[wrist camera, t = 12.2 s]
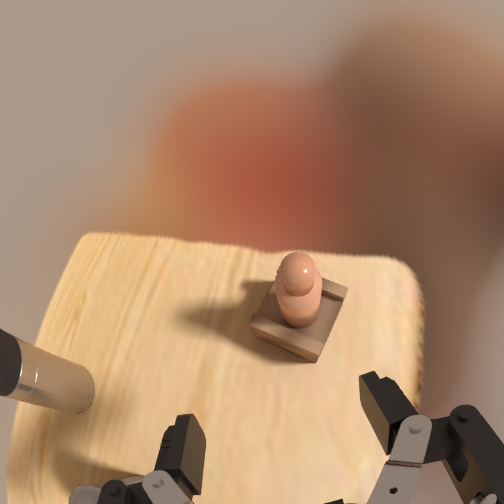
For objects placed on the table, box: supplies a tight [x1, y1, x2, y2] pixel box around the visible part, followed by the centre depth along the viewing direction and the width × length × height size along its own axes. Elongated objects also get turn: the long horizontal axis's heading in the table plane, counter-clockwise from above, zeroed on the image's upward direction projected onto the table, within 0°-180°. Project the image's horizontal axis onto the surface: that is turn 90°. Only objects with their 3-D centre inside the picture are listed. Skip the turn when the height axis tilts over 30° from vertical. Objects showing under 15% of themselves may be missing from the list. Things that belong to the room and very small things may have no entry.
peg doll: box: [275, 252, 322, 328], centre depth 34 cm, size 5×5×12 cm
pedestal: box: [248, 265, 348, 363], centre depth 41 cm, size 10×10×6 cm
